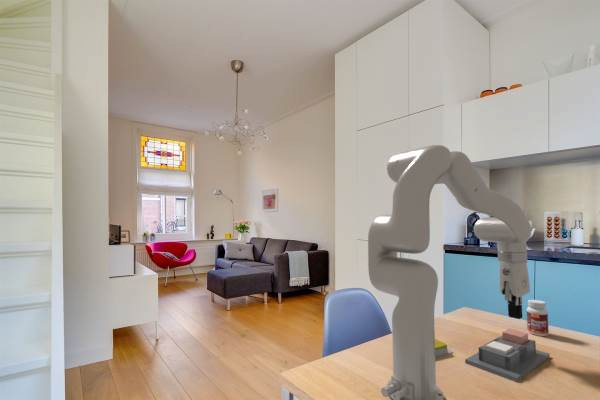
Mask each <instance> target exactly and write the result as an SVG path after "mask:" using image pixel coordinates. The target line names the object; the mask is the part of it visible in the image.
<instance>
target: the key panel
mask: <svg viewBox="0 0 600 400" xmlns="http://www.w3.org/2000/svg"><path fill="white" fill-rule="evenodd" d="M493 341H495V342H499V343H502V344H506V345H509V346H512V347H513V351H512V352H511V353H509V354H508V355H505V354H502V353H498V352H495V351H492V350H489V349H486V345H487V344H489V343H491V342H493ZM548 359H550V353H549V352H546V351H543V350H539V349H536V340H534V339H530V338H528V342H527V343H525V344H524V345H520V344H516V343H513V342H509V341H506V340H503V335H502V334H501V335H500V336H499V337H496V338H495V339H492V340H490V341H488V342H487V343H484V344H483V345H481V346H480V347H478V352H476V353H475V354H472V355H471V356H469V357H467V358H465V359H464V362H465V364H466V365H467V364H468V365H470V366H473V367H476V368H478V369H481V370H483V371H487V372H490V373H492V374H495V375H497V376H500V377H502V378H506V379H508V380H511V381H512V382H513V381H514V382H517V383H518V382H519V381H521V380H523V378H524V377H526V376H527V375H528V374H530V373H531V372H532V371H534V370H535V369H536V368H537V367H538V366H540V365H541V364H542V363H543V362H545V361H546V360H548Z"/></svg>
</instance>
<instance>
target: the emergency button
mask: <svg viewBox="0 0 600 400" xmlns="http://www.w3.org/2000/svg"><path fill="white" fill-rule="evenodd" d="M450 354H453V350H451V349H449V348H448V344H447V343H446V342H443V341H441V340H438V339H436V338H435V358H439V357H442V356H445V355H450Z"/></svg>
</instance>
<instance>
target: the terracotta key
mask: <svg viewBox="0 0 600 400" xmlns="http://www.w3.org/2000/svg"><path fill="white" fill-rule="evenodd" d="M502 335H503V340H506V341H509V342H513V343H516V344H520V345H524V344H525V343H527V342H528V339H529V332H525V331H524V332H523V331H520V330H516V329H511V328H508V329H506V330H504V331H502V334H501V336H502Z"/></svg>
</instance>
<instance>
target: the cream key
mask: <svg viewBox="0 0 600 400" xmlns="http://www.w3.org/2000/svg"><path fill="white" fill-rule="evenodd" d="M488 343H489V342H488ZM486 344H487V343H486ZM486 349H489V350H492V351H495V352H498V353H502V354H505V355H508V354H509V353H511V352H512V351H513V347H512V346H509V345H506V344H502V343H499V342H495V341H493V342H491V343H489V344H487V345H486Z"/></svg>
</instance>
